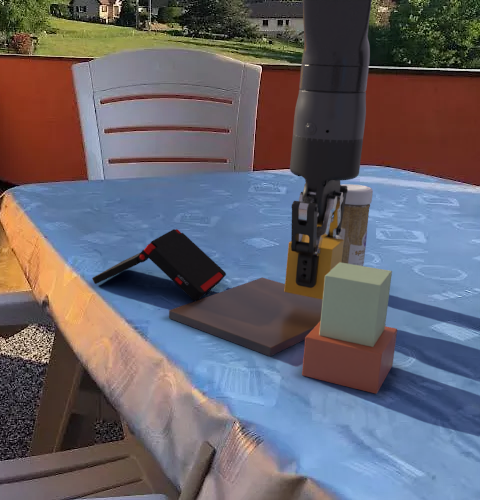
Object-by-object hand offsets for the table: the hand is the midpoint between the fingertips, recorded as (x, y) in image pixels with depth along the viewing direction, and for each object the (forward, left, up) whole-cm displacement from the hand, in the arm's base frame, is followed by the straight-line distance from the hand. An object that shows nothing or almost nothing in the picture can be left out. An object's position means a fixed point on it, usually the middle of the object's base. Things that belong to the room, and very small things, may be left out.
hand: (313, 278), depth 83 cm
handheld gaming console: (+5, -16, +1) cm, 17 cm away
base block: (+11, +11, -4) cm, 16 cm away
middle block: (+11, +11, 0) cm, 16 cm away
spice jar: (-11, -2, -4) cm, 12 cm away
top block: (0, 0, -1) cm, 1 cm away
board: (+5, -3, -4) cm, 7 cm away
